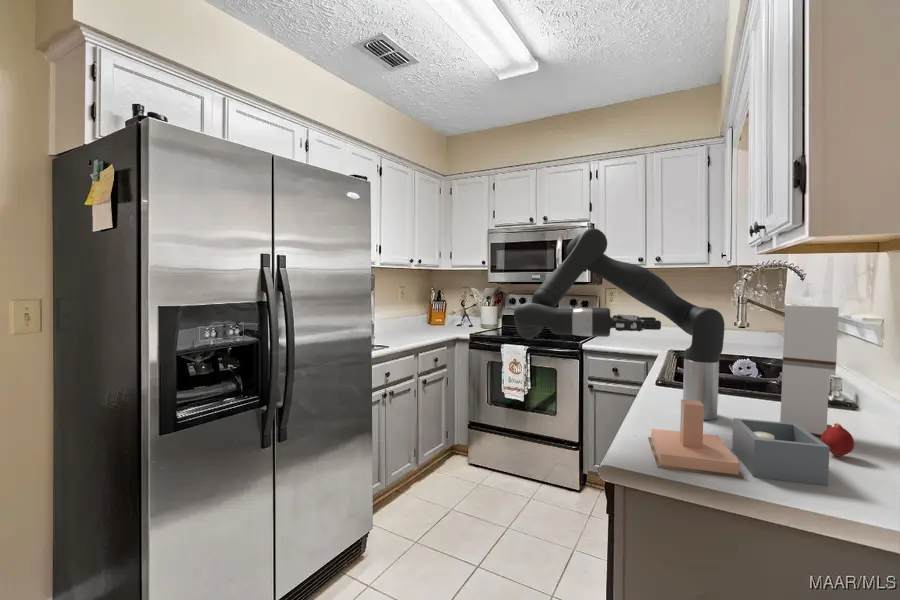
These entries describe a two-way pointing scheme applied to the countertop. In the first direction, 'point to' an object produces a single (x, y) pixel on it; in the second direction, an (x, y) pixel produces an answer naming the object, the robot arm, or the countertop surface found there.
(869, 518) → the countertop surface
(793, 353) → the white tall block
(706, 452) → the lid
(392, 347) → the countertop surface
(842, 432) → the pomegranate
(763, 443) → the storage box
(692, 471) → the board
